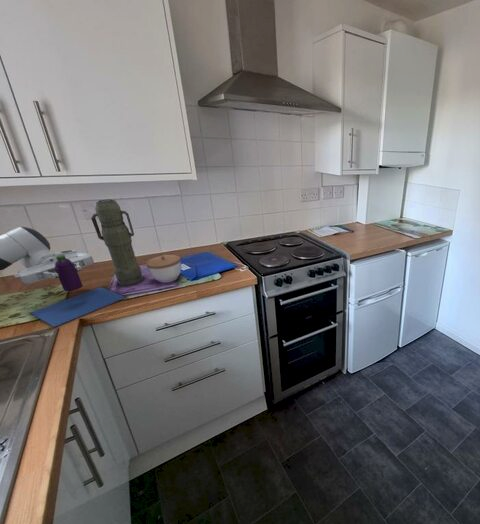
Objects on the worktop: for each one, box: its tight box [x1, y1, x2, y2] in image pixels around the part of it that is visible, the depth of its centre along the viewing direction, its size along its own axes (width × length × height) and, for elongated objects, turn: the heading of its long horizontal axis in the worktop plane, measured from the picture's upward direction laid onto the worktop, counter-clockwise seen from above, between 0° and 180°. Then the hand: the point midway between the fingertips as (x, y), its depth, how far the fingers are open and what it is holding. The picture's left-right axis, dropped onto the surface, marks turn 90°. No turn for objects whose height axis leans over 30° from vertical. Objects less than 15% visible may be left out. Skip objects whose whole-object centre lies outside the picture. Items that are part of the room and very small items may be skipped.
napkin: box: [30, 286, 126, 328], centre depth 111 cm, size 22×18×1 cm
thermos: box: [90, 198, 144, 287], centre depth 122 cm, size 9×12×35 cm
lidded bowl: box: [145, 254, 182, 284], centre depth 129 cm, size 13×13×11 cm
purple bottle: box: [54, 255, 84, 292], centre depth 106 cm, size 5×5×12 cm
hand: (68, 272), depth 106 cm, fingers closed on purple bottle, 5 cm apart
